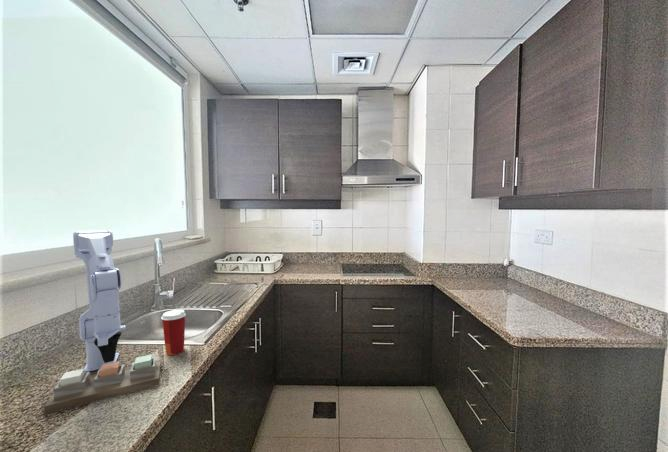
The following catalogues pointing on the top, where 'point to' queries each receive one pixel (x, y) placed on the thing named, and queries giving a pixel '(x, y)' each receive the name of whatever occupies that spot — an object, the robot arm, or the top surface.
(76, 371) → the cream button
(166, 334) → the paper cup
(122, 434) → the top surface
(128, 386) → the button board
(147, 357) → the sage button
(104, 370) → the terracotta button
